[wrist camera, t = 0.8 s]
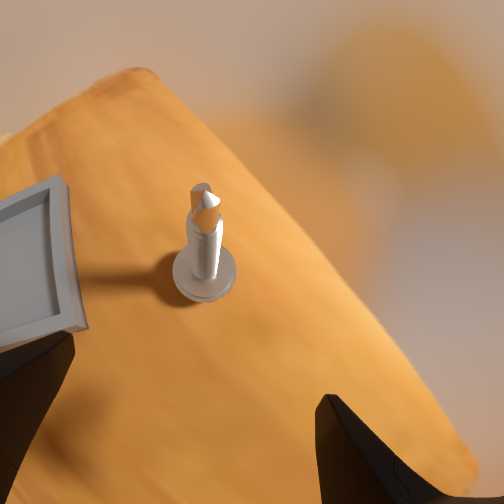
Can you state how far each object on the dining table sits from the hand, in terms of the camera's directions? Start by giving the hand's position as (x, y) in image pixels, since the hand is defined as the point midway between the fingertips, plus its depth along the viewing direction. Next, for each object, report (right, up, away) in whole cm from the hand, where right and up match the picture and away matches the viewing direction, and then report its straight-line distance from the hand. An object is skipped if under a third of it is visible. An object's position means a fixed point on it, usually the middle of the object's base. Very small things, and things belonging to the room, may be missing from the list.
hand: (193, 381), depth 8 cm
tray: (-22, +2, +11) cm, 24 cm away
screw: (-2, +2, +15) cm, 15 cm away
